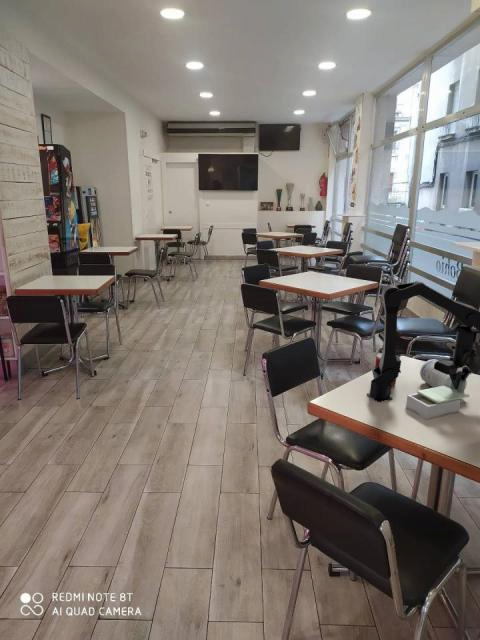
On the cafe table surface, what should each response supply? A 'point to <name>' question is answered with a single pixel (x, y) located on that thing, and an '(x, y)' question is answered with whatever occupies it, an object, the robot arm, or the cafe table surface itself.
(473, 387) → the cafe table surface
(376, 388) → the robot arm
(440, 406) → the white shallow box
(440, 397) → the lid
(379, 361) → the canned food
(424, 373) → the supplement tub
